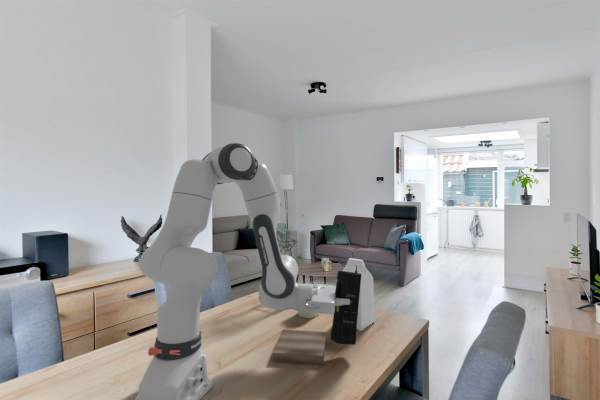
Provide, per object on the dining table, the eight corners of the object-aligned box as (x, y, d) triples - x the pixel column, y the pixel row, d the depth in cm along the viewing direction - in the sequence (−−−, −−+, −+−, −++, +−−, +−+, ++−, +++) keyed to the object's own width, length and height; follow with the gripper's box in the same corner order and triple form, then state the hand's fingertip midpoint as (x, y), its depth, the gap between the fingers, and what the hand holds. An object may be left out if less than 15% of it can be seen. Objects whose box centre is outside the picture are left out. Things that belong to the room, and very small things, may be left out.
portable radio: (334, 344, 108) (343, 263, 112) (326, 339, 114) (335, 262, 118) (356, 345, 111) (364, 266, 115) (347, 340, 116) (355, 265, 121)
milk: (375, 321, 142) (375, 258, 141) (361, 330, 133) (361, 263, 132) (350, 315, 149) (350, 255, 149) (335, 323, 141) (335, 259, 140)
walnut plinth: (323, 365, 107) (323, 355, 107) (272, 362, 109) (272, 352, 109) (326, 340, 125) (326, 331, 125) (282, 337, 127) (282, 329, 127)
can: (295, 316, 148) (295, 288, 147) (301, 309, 156) (301, 283, 156) (316, 319, 145) (316, 290, 145) (321, 311, 154) (321, 284, 153)
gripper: (304, 297, 104) (350, 299, 103) (310, 280, 125) (349, 282, 123) (303, 317, 104) (350, 320, 103) (310, 298, 125) (349, 300, 123)
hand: (349, 299), depth 113 cm, fingers closed on portable radio, 2 cm apart
